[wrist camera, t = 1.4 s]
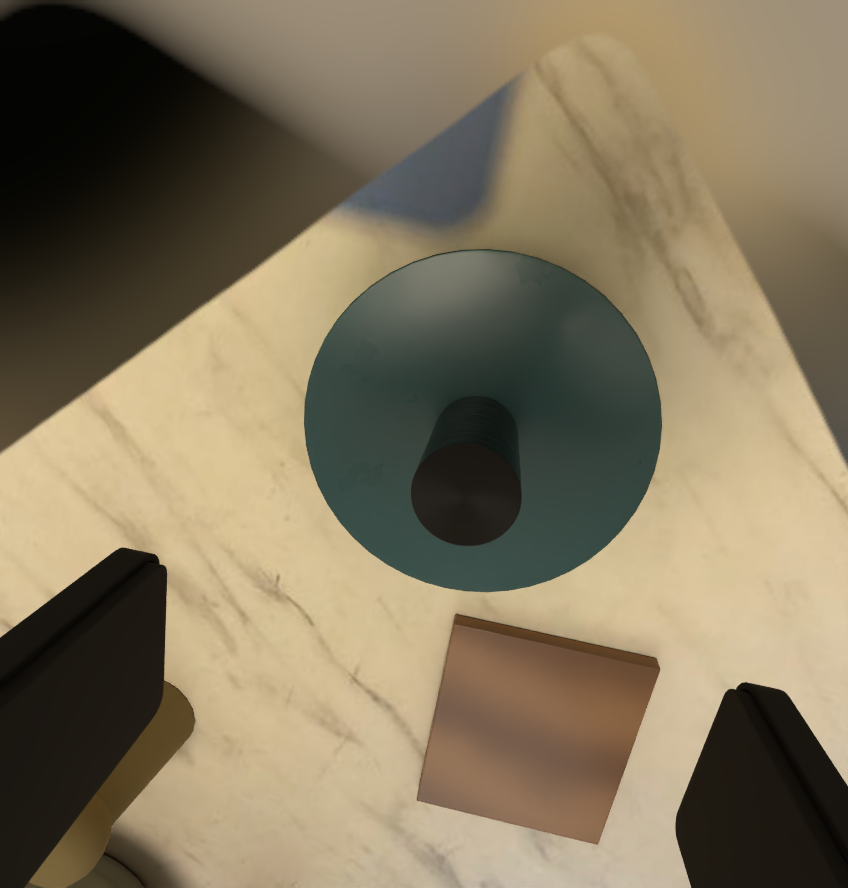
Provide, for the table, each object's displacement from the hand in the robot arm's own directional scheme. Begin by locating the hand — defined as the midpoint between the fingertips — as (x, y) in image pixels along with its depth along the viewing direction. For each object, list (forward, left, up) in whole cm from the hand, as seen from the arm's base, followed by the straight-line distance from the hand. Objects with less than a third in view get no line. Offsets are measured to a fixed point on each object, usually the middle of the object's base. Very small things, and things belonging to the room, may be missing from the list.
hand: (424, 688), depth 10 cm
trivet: (+21, +7, -23) cm, 32 cm away
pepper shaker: (+27, -18, -23) cm, 40 cm away
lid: (0, 0, -14) cm, 14 cm away
